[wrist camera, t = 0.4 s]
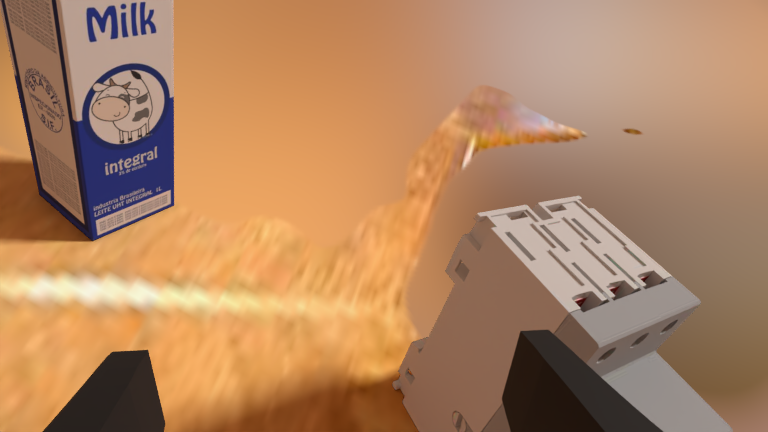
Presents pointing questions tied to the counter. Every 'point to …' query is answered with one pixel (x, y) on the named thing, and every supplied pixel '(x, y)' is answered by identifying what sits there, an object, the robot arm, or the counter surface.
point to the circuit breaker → (551, 319)
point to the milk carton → (97, 105)
